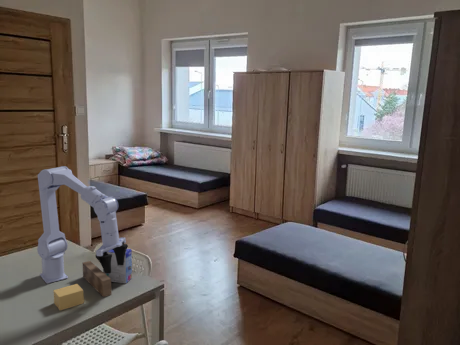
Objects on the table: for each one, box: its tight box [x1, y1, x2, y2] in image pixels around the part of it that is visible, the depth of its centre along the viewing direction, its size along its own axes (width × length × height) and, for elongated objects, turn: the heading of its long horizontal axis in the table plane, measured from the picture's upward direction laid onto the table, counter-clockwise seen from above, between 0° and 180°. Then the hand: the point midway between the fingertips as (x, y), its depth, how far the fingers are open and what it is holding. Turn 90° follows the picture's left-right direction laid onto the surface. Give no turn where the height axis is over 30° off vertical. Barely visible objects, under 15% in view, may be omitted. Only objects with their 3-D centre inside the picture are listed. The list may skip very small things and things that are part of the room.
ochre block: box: [53, 283, 85, 311], centre depth 138 cm, size 6×8×5 cm
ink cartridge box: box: [102, 248, 133, 284], centre depth 156 cm, size 10×6×14 cm, turn 78°
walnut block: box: [82, 260, 112, 298], centre depth 152 cm, size 20×3×6 cm, turn 40°
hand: (114, 268), depth 143 cm, fingers open, 7 cm apart
